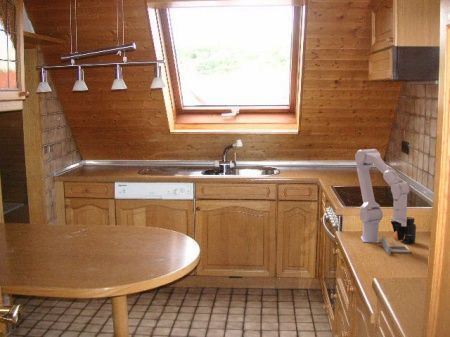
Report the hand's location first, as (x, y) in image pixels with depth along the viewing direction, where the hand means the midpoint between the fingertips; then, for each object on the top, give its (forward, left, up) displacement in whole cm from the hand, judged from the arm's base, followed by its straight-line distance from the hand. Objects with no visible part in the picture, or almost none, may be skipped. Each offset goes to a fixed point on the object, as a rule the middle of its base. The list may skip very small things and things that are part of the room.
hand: (398, 238), depth 234 cm
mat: (0, 0, -5) cm, 5 cm away
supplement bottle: (-13, +7, -6) cm, 16 cm away
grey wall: (0, -6, -5) cm, 8 cm away
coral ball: (0, 0, +1) cm, 1 cm away
